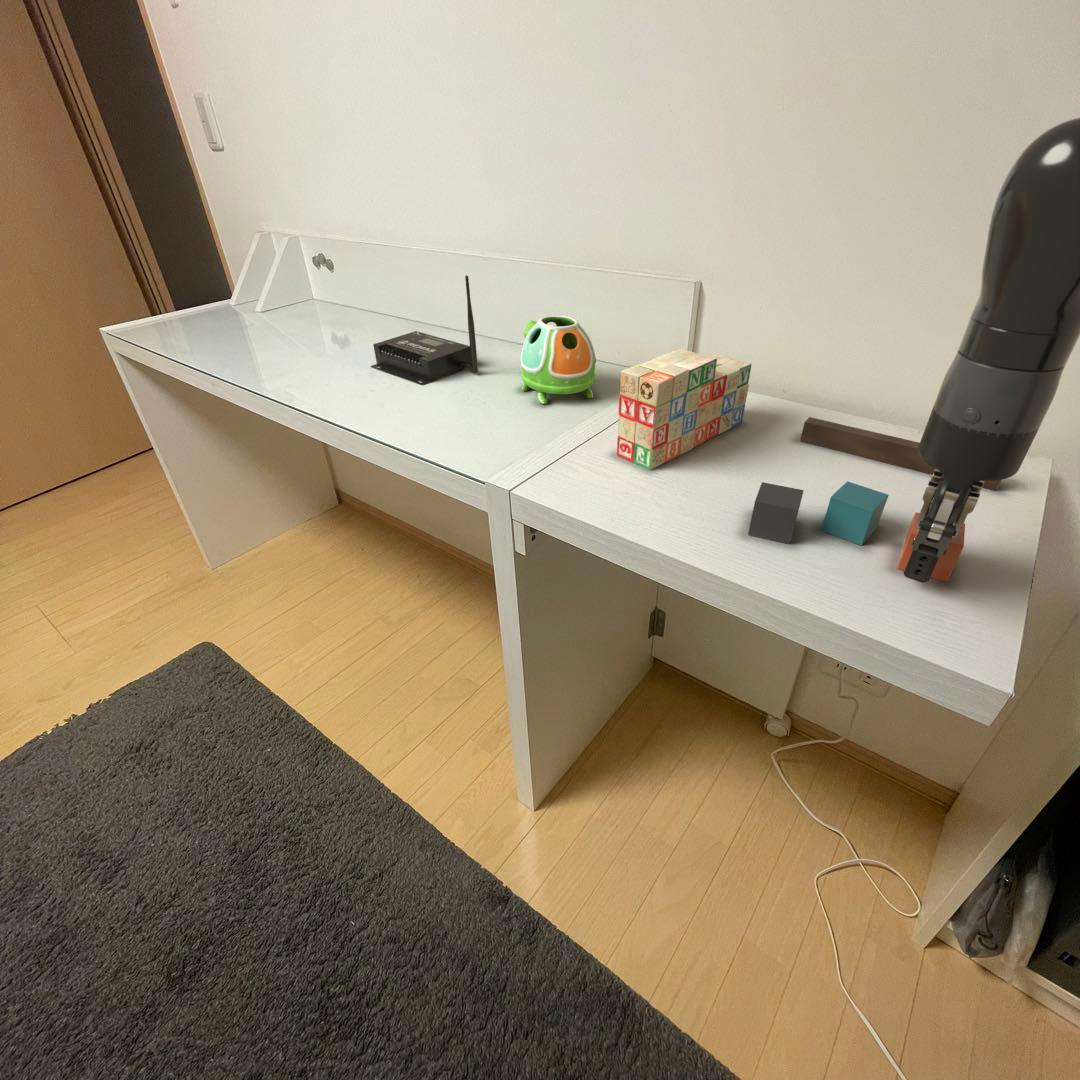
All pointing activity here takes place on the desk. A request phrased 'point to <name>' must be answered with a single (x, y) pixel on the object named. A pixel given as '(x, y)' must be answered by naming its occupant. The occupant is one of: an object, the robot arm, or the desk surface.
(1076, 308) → the robot arm
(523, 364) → the turtle holder
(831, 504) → the block teal
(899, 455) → the rail
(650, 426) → the stack of blocks
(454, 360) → the wireless controller
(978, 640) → the desk surface
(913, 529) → the block terracotta
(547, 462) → the desk surface
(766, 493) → the block charcoal
